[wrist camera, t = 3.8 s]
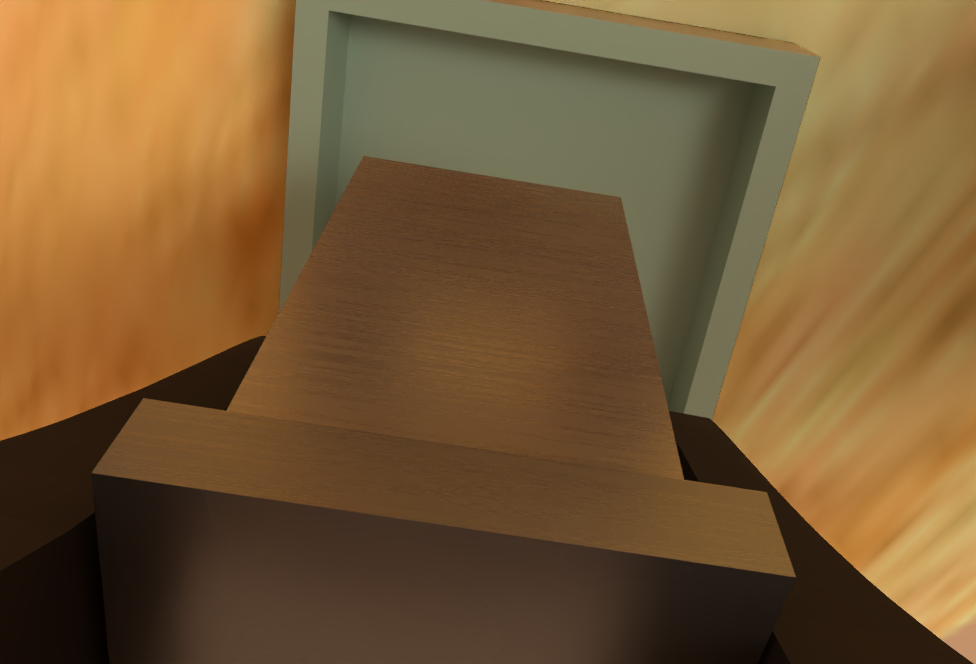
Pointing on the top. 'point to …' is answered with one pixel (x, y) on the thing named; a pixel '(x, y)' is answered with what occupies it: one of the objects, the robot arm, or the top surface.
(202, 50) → the top surface
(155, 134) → the top surface
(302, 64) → the tray
